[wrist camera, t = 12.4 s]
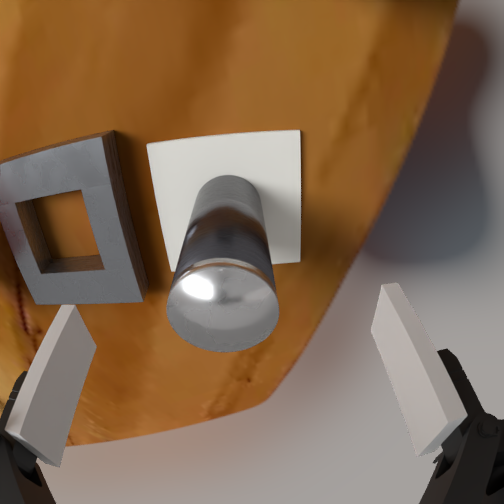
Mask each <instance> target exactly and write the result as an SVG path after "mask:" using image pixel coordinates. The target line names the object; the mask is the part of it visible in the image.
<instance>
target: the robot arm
mask: <svg viewBox="0 0 504 504" xmlns="http://www.w3.org/2000/svg"><path fill="white" fill-rule="evenodd" d="M371 333H372V336H373V338H374V340H375V343H376V345H377V348H378V350H379V353H380V355H381V358H382V360H383V363H384V365H385V368H386V371H387V373H388V376H389V379H390V381H391V384H392V387H393V389H394V392H395V395H396V397H397V400H398V403H399V406H400V408H401V411H402V414H403V417H404V420H405V423H406V426H407V429H408V432H409V435H410V438H411V441H412V444H413V447H414V450H415V453H416V456H417V457H419V456H422V455H425V454H428V453H431V452H434V451H435V450H436V449H437V448H438V447H439V446H440V445H441V446H442V449H443V452H442V453H441V454H439V455H438V456H437V457H436V459H435V460H434V462H433V463H436V462H437V461H438V460H439V461H438V463H437V466H436V468H435V471H434V473H433V475H432V477H431V480H430V482H429V484H428V486H427V489H426V491H425V493H424V495H423V497H422V499H421V501H420V503H419V504H504V419H503V420H498V419H497V418H496V417H495V416H493V415H491V414H487V413H486V412H485V411H484V409H483V408H482V406H481V404H480V402H479V400H478V398H477V395H476V394H475V392H474V390H473V388H472V386H471V383H470V382H469V380H468V379H467V376H466V374H465V372H464V370H462V366H461V364H460V362H459V361H458V359H457V357H456V356H455V355H454V354H452V352H450V351H449V350H448V349H443V350H439V351H436V349H435V347H434V345H433V343H432V342H431V340H430V338H429V336H428V334H427V332H426V330H425V329H424V327H423V325H422V323H421V321H420V320H419V318H418V316H417V314H416V313H415V311H414V309H413V307H412V306H411V304H410V303H409V301H408V299H407V297H406V295H405V294H404V292H403V290H402V289H401V287H400V286H399V284H398V283H390V284H382V285H381V290H380V294H379V298H378V303H377V307H376V311H375V315H374V319H373V323H372V327H371ZM96 347H97V346H96V345H95V343H94V341H93V339H92V337H91V335H90V333H89V331H88V330H87V328H86V326H85V324H84V322H83V320H82V318H81V316H80V314H79V312H78V310H77V308H76V305H61V307H60V309H59V311H58V313H57V315H56V316H55V318H54V320H53V322H52V324H51V326H50V328H49V330H48V332H47V334H46V336H45V338H44V340H43V342H42V344H41V346H40V348H39V350H38V352H37V354H36V356H35V358H34V360H33V362H32V364H31V367H30V369H29V371H28V372H27V371H24V372H23V373H22V374H21V375H20V376H19V377H18V379H17V380H16V382H15V384H14V387H13V389H12V392H11V393H10V396H9V400H8V401H7V403H6V405H5V408H4V410H3V413H2V415H1V418H0V504H56V502H55V500H54V498H53V496H52V494H51V492H50V490H49V488H48V485H47V483H46V481H45V479H44V477H43V474H42V472H41V469H40V467H39V465H38V464H37V463H36V459H37V457H38V458H39V459H40V460H41V461H43V462H44V463H46V464H50V465H53V466H57V467H60V464H61V460H62V456H63V452H64V448H65V444H66V441H67V437H68V433H69V430H70V426H71V423H72V419H73V416H74V413H75V409H76V406H77V403H78V400H79V397H80V394H81V390H82V387H83V384H84V381H85V378H86V375H87V373H88V370H89V367H90V364H91V361H92V358H93V356H94V353H95V350H96Z"/></svg>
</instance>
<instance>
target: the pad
mask: <svg viewBox="0 0 504 504" xmlns="http://www.w3.org/2000/svg"><path fill="white" fill-rule="evenodd" d="M147 151H148V157H149V163H150V169H151V175H152V180H153V186H154V191H155V197H156V202H157V207H158V212H159V217H160V222H161V227H162V232H163V236H164V241H165V246H166V250H167V254H168V259H169V263H170V268H171V272H172V271H175V270H176V266H177V263H178V259H179V255H180V252H181V248H182V245H183V241H184V238H185V234H186V231H187V227H188V224H189V220H190V217H191V214H192V210H193V207H194V204H195V200H196V197H197V195H198V192H199V190H200V189H201V188H202V186H203V185H204V184H205V183H207V182H208V181H209V180H211V179H213V178H215V177H218V176H222V175H234V176H239V177H241V178H244V179H245V180H247V181H249V182H250V183H251V184H252V185H253V186H254V187H255V188H256V190H257V191H258V193H259V195H260V199H261V204H262V210H263V216H264V221H265V227H266V233H267V239H268V245H269V251H270V257H271V263H272V264H279V263H292V262H300V249H301V151H300V130H278V131H259V132H245V133H232V134H220V135H210V136H201V137H192V138H184V139H176V140H169V141H161V142H155V143H148V144H147Z"/></svg>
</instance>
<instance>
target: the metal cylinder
mask: <svg viewBox="0 0 504 504" xmlns="http://www.w3.org/2000/svg"><path fill="white" fill-rule="evenodd" d="M167 316H168V319H169V322H170V324H171V326H172V328H173V329H174V330H175V332H176V333H177V334H178V335H179V336H180V337H181V338H183V339H184V340H185V341H187V342H189V343H190V344H192V345H194V346H196V347H199V348H202V349H205V350H209V351H215V352H235V351H240V350H244V349H248V348H250V347H253V346H255V345H257V344H258V343H260V342H262V341H263V340H264V339H266V338H267V337H268V336H269V335H270V334H271V332H272V331H273V330H274V328H275V326H276V324H277V322H278V318H279V305H278V299H277V293H276V287H275V281H274V275H273V269H272V263H271V257H270V251H269V245H268V239H267V233H266V227H265V221H264V216H263V210H262V204H261V199H260V195H259V193H258V191H257V190H256V188H255V187H254V186H253V185H252V184H251V183H250V182H249V181H247V180H245V179H244V178H241V177H239V176H234V175H222V176H218V177H215V178H213V179H211V180H209V181H208V182H207V183H205V184H204V185H203V186H202V188H201V189H200V190H199V192H198V195H197V197H196V200H195V204H194V207H193V210H192V214H191V217H190V220H189V224H188V227H187V231H186V234H185V238H184V241H183V245H182V248H181V252H180V255H179V259H178V263H177V266H176V270H175V274H174V278H173V281H172V285H171V289H170V293H169V297H168V301H167Z"/></svg>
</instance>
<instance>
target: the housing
mask: <svg viewBox="0 0 504 504" xmlns="http://www.w3.org/2000/svg"><path fill="white" fill-rule="evenodd" d="M80 189H81V190H82V194H83V198H84V202H85V206H86V209H87V213H88V216H89V220H90V223H91V227H92V230H93V234H94V237H95V240H96V243H97V247H98V250H99V253H100V255H93V256H82V257H70V258H59V259H52V257H51V255H50V252H49V249H48V247H47V244H46V241H45V238H44V235H43V233H42V230H41V227H40V224H39V221H38V218H37V215H36V211H35V208H34V205H33V202H32V199H34V198H39V197H44V196H49V195H53V194H59V193H64V192H69V191H74V190H80ZM0 221H1V223H2V226H3V229H4V232H5V234H6V237H7V240H8V242H9V245H10V247H11V250H12V252H13V255H14V257H15V260H16V262H17V264H18V267H19V269H20V271H21V273H22V276H23V278H24V280H25V282H26V284H27V287H28V289H29V291H30V293H31V295H32V297H33V299H34V301H35V303H36V304H99V303H129V302H143V301H144V298H145V295H146V292H147V290H148V287H149V282H148V278H147V275H146V271H145V268H144V264H143V261H142V257H141V253H140V249H139V246H138V242H137V238H136V234H135V230H134V226H133V222H132V217H131V213H130V209H129V205H128V200H127V196H126V191H125V186H124V181H123V177H122V172H121V167H120V161H119V156H118V151H117V145H116V139H115V133H114V130H111V131H106V132H102V133H97V134H93V135H88V136H84V137H80V138H76V139H72V140H68V141H64V142H60V143H57V144H53V145H49V146H46V147H42V148H39V149H36V150H32V151H29V152H26V153H23V154H19V155H16V156H13V157H10V158H7V159H4V160H1V161H0Z"/></svg>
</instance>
